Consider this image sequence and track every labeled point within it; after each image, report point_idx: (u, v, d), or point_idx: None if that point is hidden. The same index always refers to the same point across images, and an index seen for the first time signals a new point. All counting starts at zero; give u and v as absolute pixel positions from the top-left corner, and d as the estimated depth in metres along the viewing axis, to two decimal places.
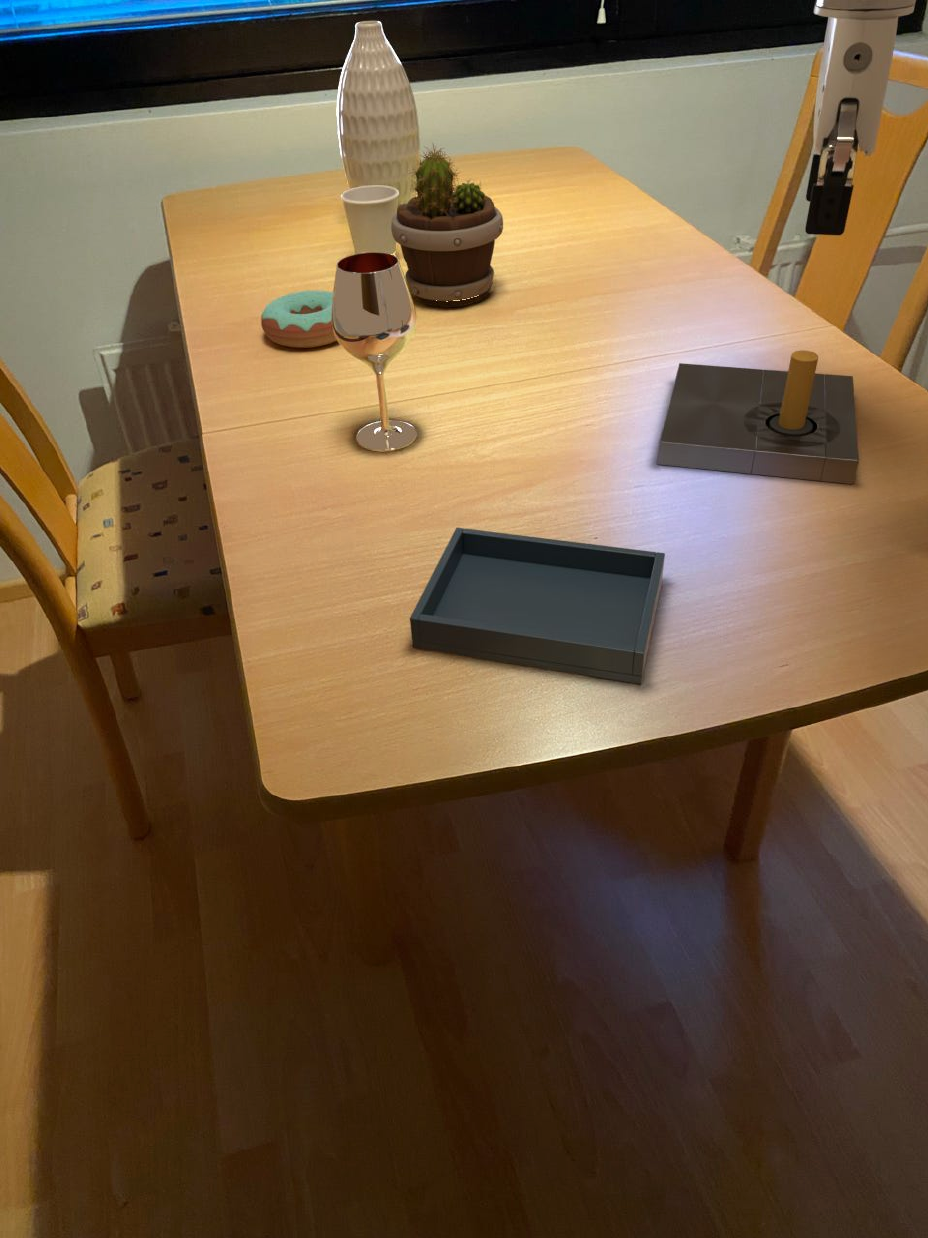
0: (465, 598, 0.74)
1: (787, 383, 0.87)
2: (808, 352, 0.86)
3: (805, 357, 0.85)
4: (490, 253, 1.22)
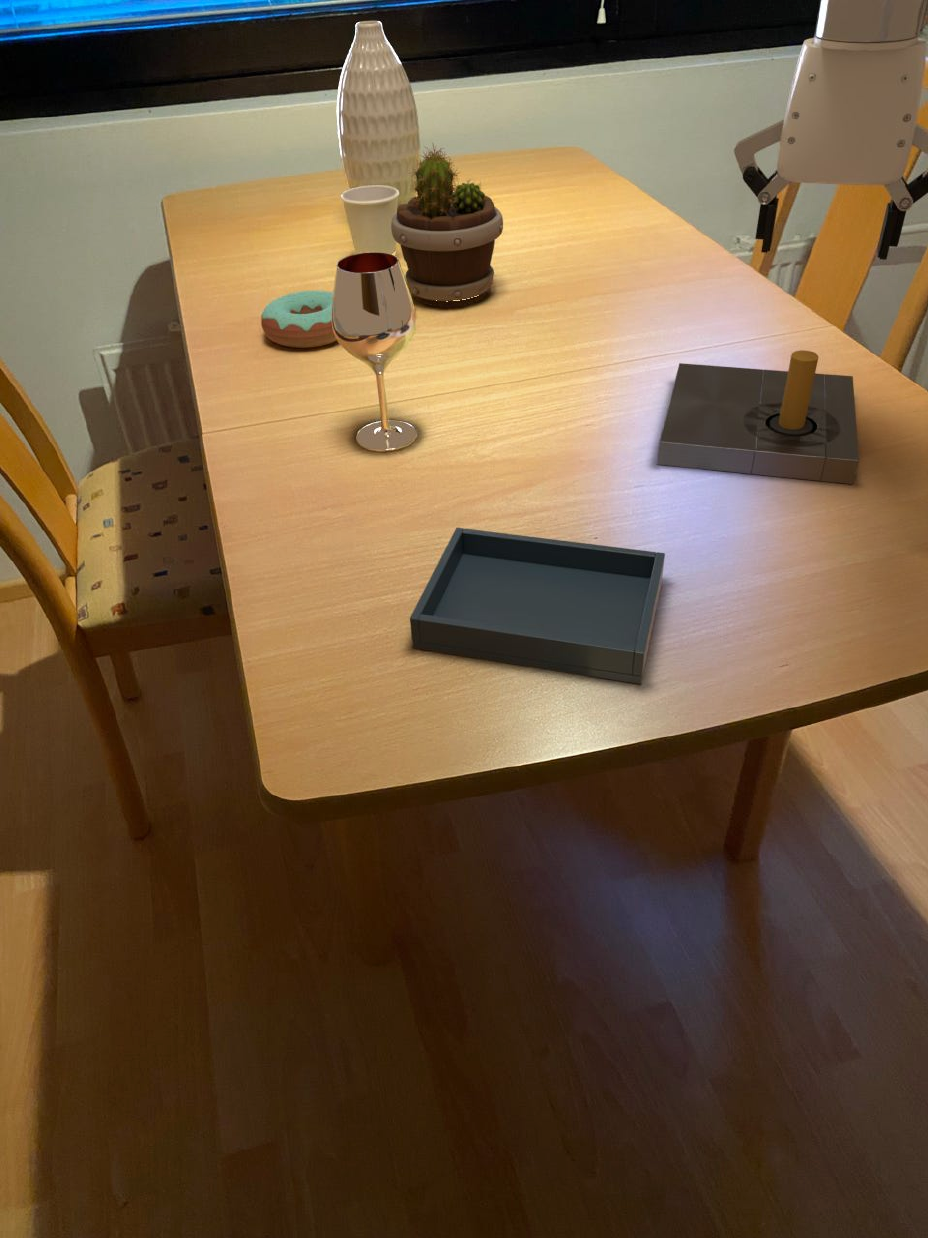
0: (465, 598, 0.74)
1: (787, 383, 0.87)
2: (808, 352, 0.86)
3: (805, 357, 0.85)
4: (490, 253, 1.22)
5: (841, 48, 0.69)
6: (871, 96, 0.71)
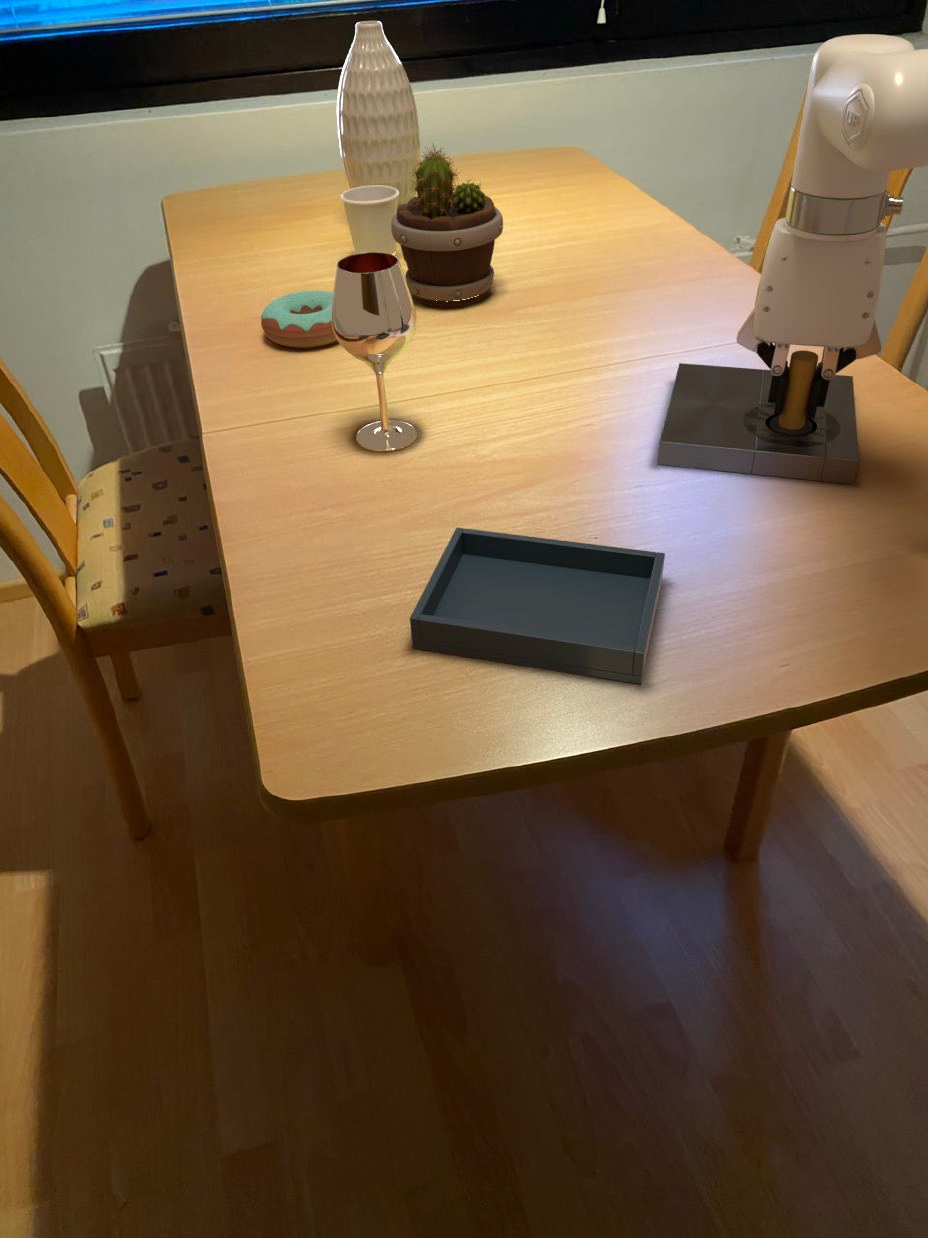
0: (465, 598, 0.74)
1: (787, 383, 0.87)
2: (808, 352, 0.86)
3: (805, 357, 0.85)
4: (490, 253, 1.22)
5: (810, 238, 0.76)
6: (838, 276, 0.79)
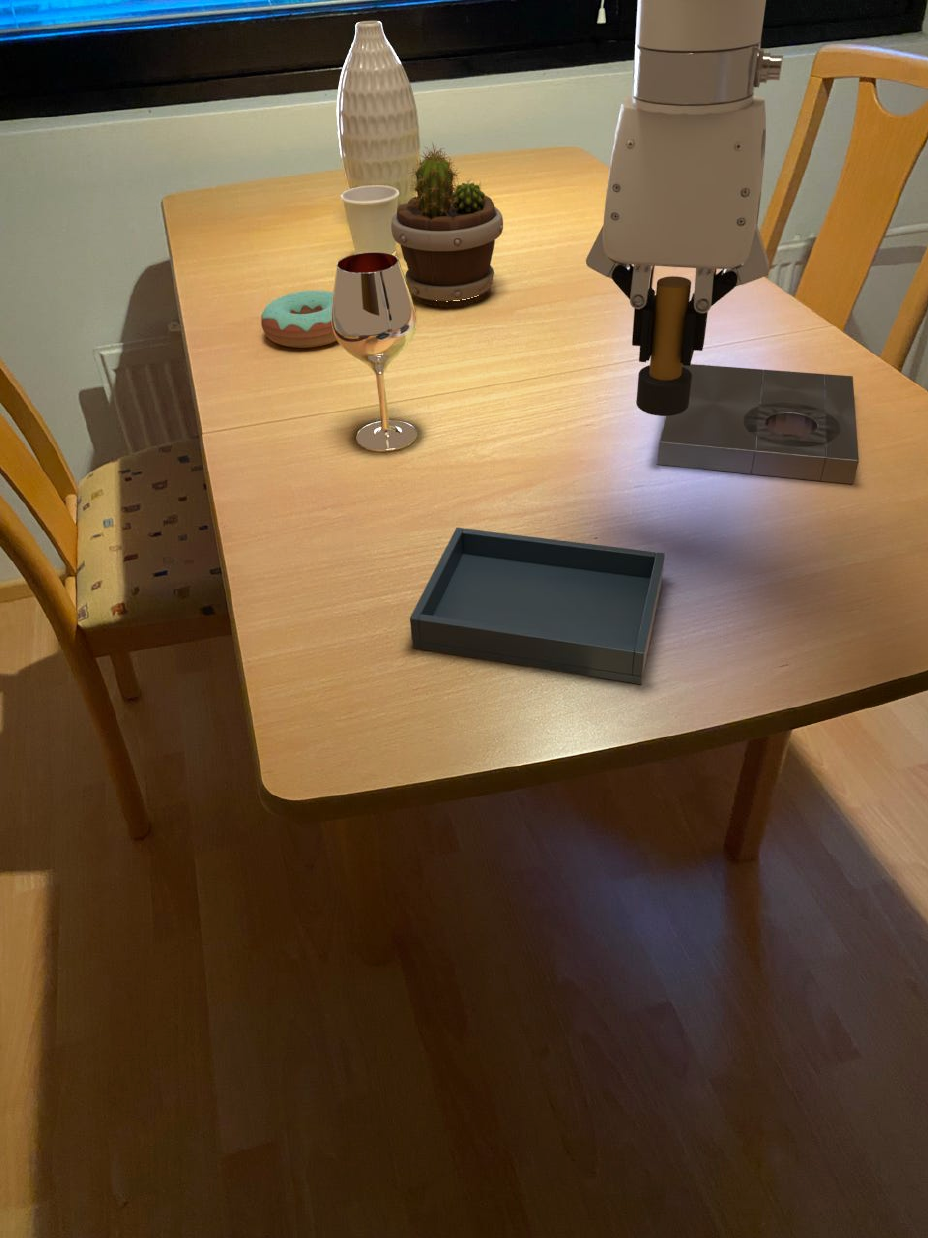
0: (465, 598, 0.74)
1: (655, 319, 0.68)
2: (679, 278, 0.67)
3: (674, 284, 0.66)
4: (490, 253, 1.22)
5: (658, 111, 0.57)
6: (700, 167, 0.59)
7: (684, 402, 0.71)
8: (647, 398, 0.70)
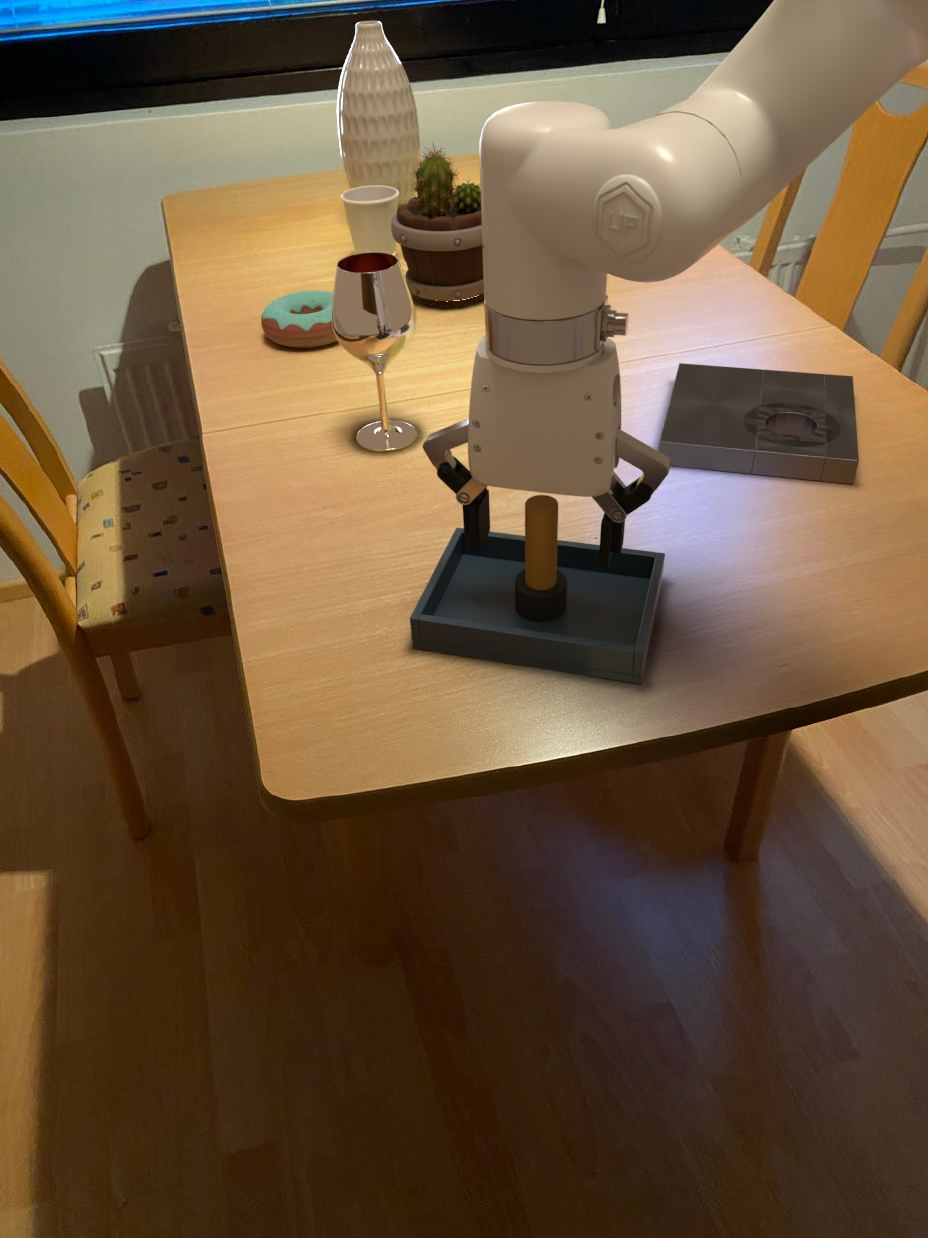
0: (465, 598, 0.74)
1: (525, 536, 0.69)
2: (548, 498, 0.67)
3: (541, 507, 0.67)
4: None
5: (507, 367, 0.57)
6: (554, 413, 0.59)
7: (560, 608, 0.71)
8: (523, 605, 0.71)
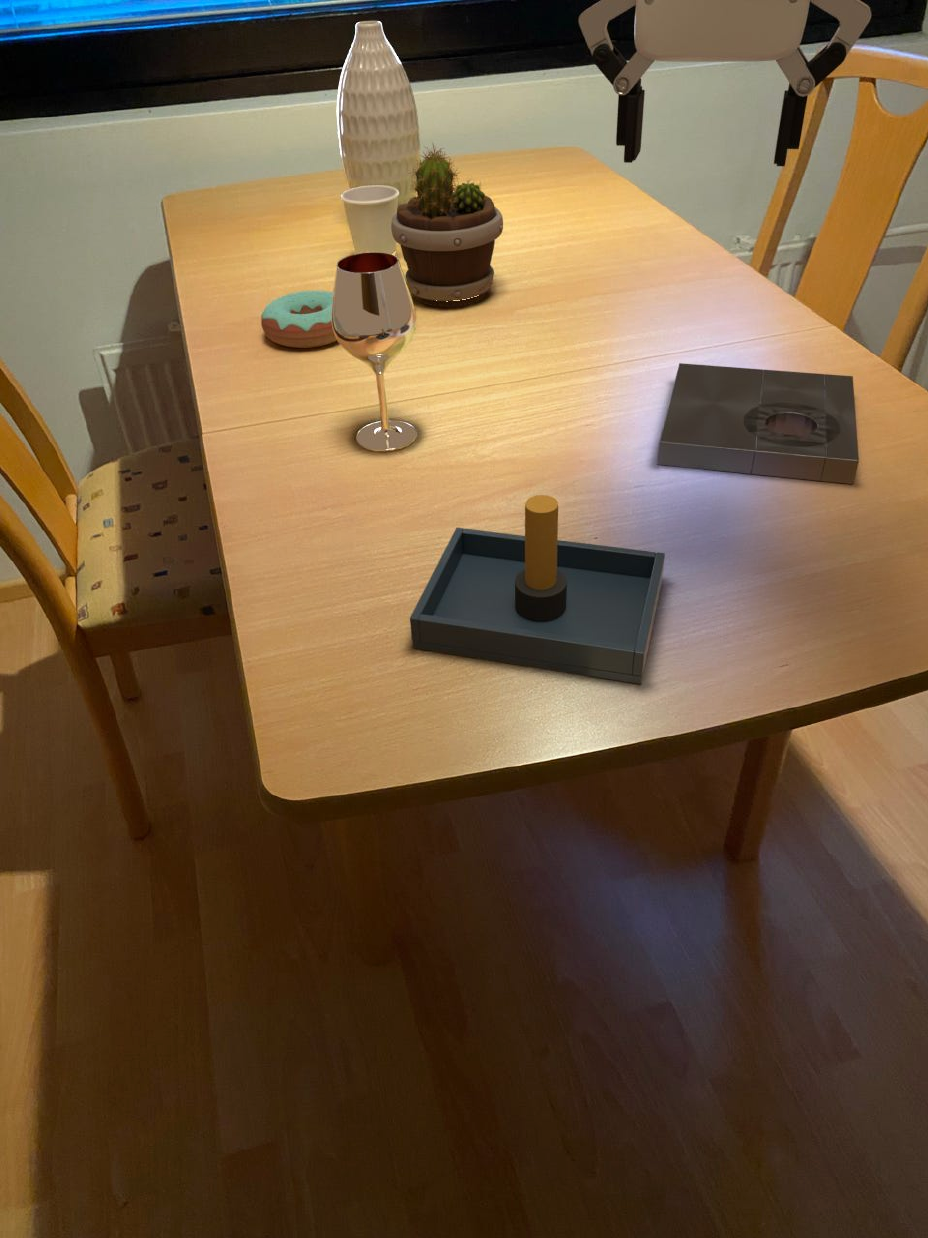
0: (465, 598, 0.74)
1: (525, 536, 0.69)
2: (548, 498, 0.67)
3: (541, 507, 0.67)
4: (490, 253, 1.22)
5: None
6: None
7: (560, 608, 0.71)
8: (523, 605, 0.71)
